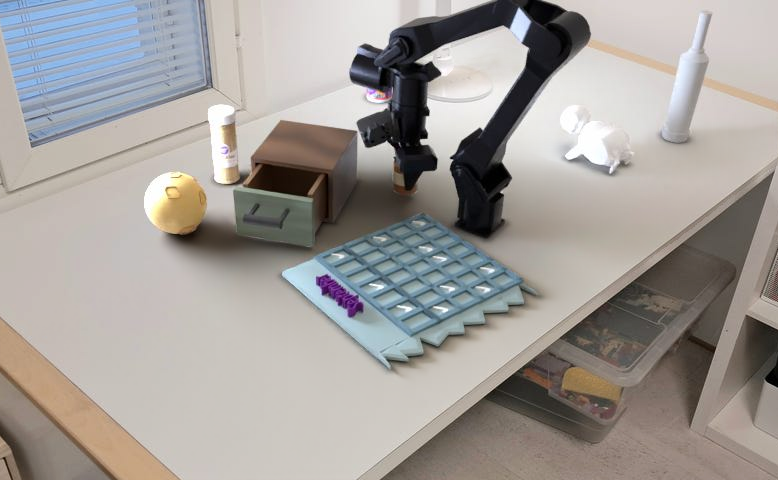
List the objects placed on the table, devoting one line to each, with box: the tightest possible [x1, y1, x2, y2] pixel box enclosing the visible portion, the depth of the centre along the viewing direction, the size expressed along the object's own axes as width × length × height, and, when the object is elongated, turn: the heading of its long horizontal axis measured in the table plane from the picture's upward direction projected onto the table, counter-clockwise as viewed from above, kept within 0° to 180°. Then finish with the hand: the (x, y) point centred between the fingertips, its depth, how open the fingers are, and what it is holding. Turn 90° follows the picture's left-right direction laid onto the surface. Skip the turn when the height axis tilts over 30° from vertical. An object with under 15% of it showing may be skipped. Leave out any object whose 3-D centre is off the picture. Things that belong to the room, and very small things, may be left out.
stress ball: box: [144, 171, 208, 236], centre depth 141 cm, size 10×10×10 cm
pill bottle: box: [366, 87, 393, 104], centre depth 183 cm, size 5×5×10 cm
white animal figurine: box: [560, 104, 635, 174], centre depth 165 cm, size 9×8×15 cm
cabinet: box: [250, 119, 359, 224], centre depth 150 cm, size 15×14×10 cm
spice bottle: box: [392, 159, 420, 196], centre depth 150 cm, size 4×4×6 cm
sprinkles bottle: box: [207, 104, 241, 185], centre depth 153 cm, size 5×5×13 cm
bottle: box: [661, 9, 713, 144], centre depth 166 cm, size 5×5×25 cm
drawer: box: [232, 163, 329, 248], centre depth 141 cm, size 18×13×8 cm
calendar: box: [281, 212, 539, 370], centre depth 132 cm, size 27×28×2 cm
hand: (405, 183), depth 152 cm, fingers closed on spice bottle, 4 cm apart
